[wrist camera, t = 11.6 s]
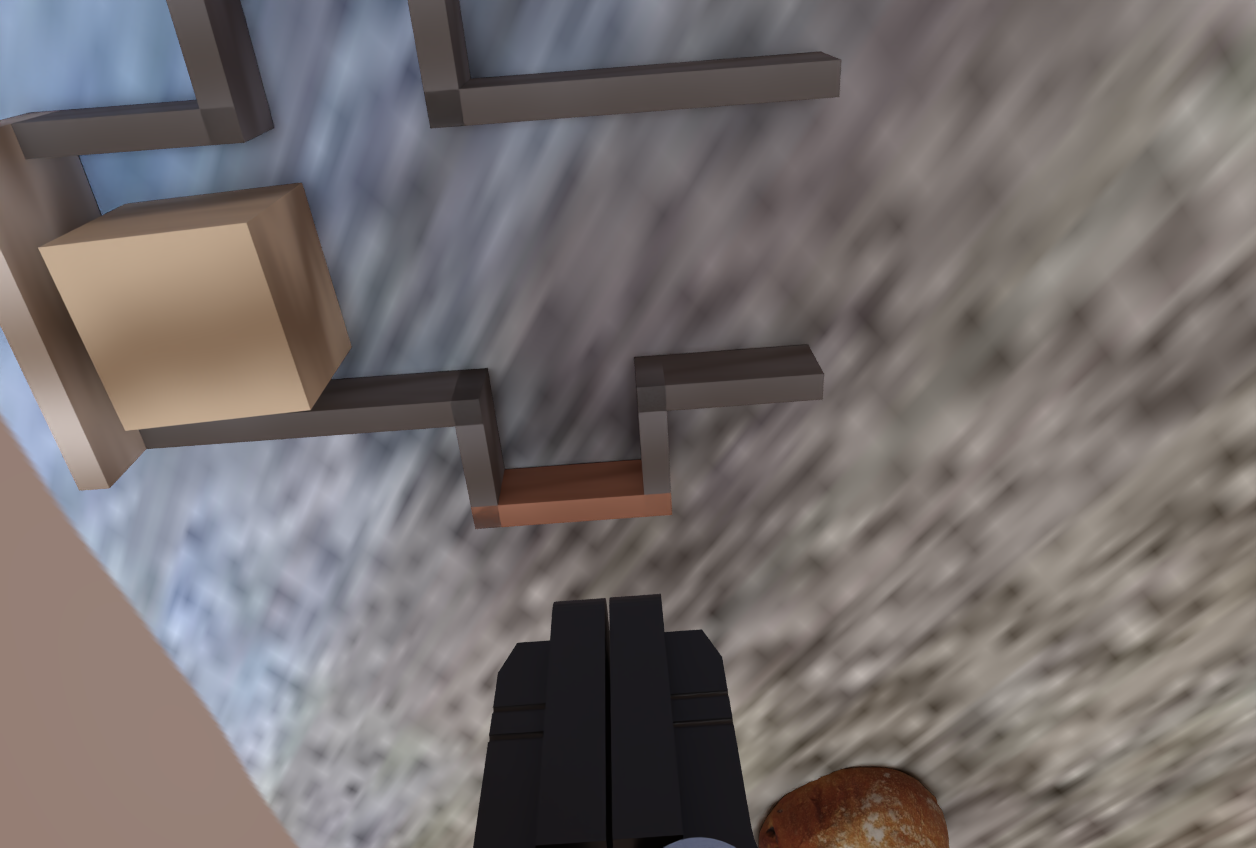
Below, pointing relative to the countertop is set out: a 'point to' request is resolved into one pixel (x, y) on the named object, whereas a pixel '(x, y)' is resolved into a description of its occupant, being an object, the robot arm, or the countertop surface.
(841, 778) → the bread roll
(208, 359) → the maple block
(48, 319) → the channel
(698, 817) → the robot arm
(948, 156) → the countertop surface
